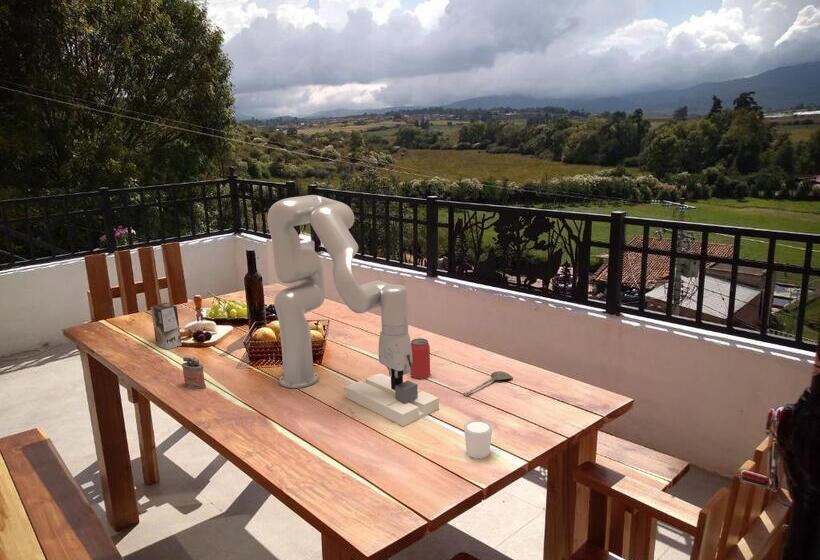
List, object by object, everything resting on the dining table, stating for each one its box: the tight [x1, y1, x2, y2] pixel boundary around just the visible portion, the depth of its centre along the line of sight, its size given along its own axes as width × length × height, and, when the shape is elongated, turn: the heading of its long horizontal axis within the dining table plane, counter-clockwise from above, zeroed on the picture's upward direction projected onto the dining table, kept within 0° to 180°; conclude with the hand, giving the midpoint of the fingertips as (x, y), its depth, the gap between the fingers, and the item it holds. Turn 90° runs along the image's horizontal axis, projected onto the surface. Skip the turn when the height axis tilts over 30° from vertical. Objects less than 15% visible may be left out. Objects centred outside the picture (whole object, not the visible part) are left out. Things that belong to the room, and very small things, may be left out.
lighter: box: [181, 356, 207, 390], centre depth 181 cm, size 8×3×10 cm, turn 65°
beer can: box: [409, 337, 431, 380], centre depth 185 cm, size 7×7×12 cm
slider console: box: [344, 372, 440, 427], centre depth 167 cm, size 26×14×4 cm, turn 43°
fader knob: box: [395, 380, 419, 403], centre depth 161 cm, size 4×5×6 cm
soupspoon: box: [462, 370, 514, 398], centre depth 177 cm, size 22×3×7 cm
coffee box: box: [150, 302, 183, 351], centre depth 219 cm, size 9×6×16 cm
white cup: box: [463, 420, 493, 459], centre depth 139 cm, size 7×7×7 cm
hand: (397, 388), depth 164 cm, fingers closed
